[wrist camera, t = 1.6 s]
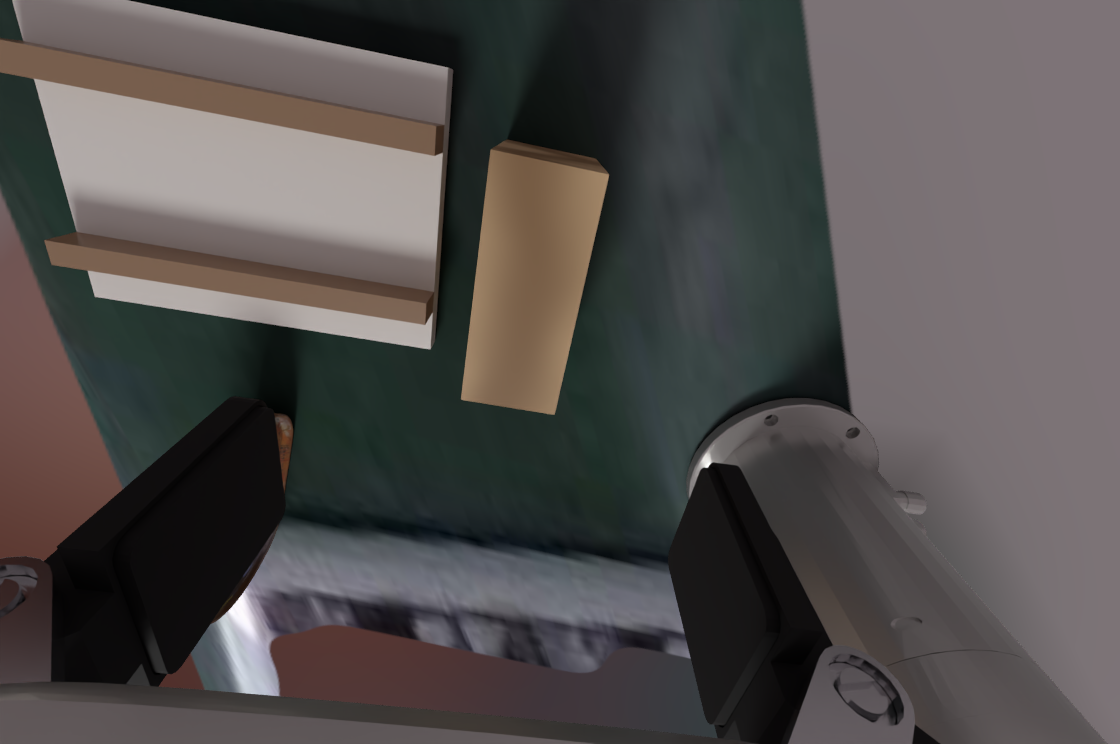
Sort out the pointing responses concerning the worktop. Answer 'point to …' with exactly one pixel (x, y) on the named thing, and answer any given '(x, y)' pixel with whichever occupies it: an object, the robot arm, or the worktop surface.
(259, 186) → the cradle
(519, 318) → the oak block
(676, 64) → the worktop surface
